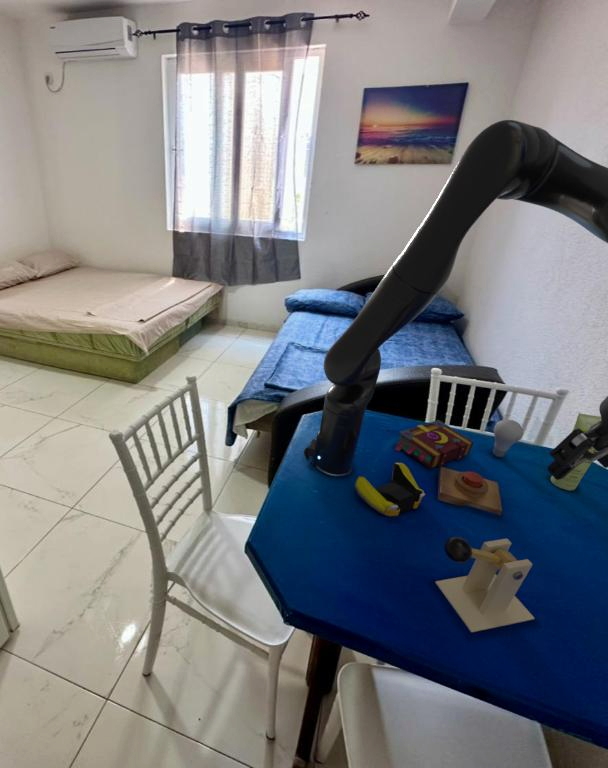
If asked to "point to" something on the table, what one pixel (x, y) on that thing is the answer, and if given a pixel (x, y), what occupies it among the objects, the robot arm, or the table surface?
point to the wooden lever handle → (475, 553)
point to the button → (473, 479)
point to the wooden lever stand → (489, 592)
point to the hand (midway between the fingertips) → (577, 468)
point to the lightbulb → (506, 436)
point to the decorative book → (434, 444)
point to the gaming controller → (392, 492)
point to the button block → (468, 492)
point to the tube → (577, 473)
